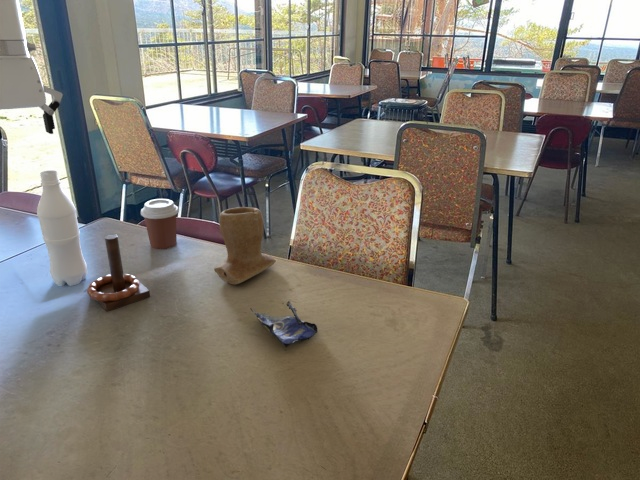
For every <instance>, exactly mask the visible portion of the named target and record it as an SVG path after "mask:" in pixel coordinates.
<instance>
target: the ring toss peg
mask: <svg viewBox="0 0 640 480" xmlns="http://www.w3.org/2000/svg"><path fill="white" fill-rule="evenodd" d="M104 242H105V248H106V255H107V260H108V266H109V272H110V274H111V278H112V282H110V283H106V284H103V285H101V286H100V287H98V288H97V290H96V291H97V292H100V293H104V294H106V293H116V292H119V291H123V290H126V289H127V288H128V287H130V286H131V283H130V282H126V281H125V280H124V274H125V273H124V268H123V262H122V255H121V250H120V243H119V237H118V235H117V234H108V235H105V236H104ZM123 273H124V274H123ZM148 298H151V292H150V290H149V289H148V288H147V287H146V286H145V285H144V284H143V283H142V282H140V285H139V289H138V291H136V292H135V293H134V294H132V295H131V296H129V297H127V298H123V299H120V300H117V301H106V302H103V301H98V300H96V301H97V302H98V303H99V304H100V306H102V308H103V309H104V310H105V311H106V312H110V311H113V310H115V309H118V308H122V307H124V306H127V305H130V304H133V303H136V302H139V301H142V300H145V299H148Z"/></svg>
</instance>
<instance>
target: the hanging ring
mask: <svg viewBox="0 0 640 480" xmlns="http://www.w3.org/2000/svg"><path fill="white" fill-rule="evenodd" d="M123 274H124V280H125V281H126V282H130V283H131V286H130V287H128V288H127V289H126V290H123V291H119V292H116V293H106V294H104V293H100V292H97V291H96V290H97V288H98V287H100V286H101V285H103V284H106V283H110V282H112V278H111V273H110V274H107V275H104V276H100V277H98V278H97V279H95V280H93V281H91V282H90V283H89V285H88V288H87V289H86V294H87V295H88V296H89V297H90V299H92V300H94V301H97V300H98V301H103V302H106V301H117V300H120V299H123V298H127V297H129V296H131V295H132V294H134V293H135V292H136V291H138V289H139V285H140V283H141V281H140V280H139V279H138V277H136V276H135V275H133V274H128V273H124V272H123ZM98 301H97V302H98Z"/></svg>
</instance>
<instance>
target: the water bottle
mask: <svg viewBox="0 0 640 480" xmlns="http://www.w3.org/2000/svg"><path fill="white" fill-rule="evenodd" d="M58 174H59V173H58V171H57V170H44V171H41V172H40V174H39V176H40V178H41V180H40V182H41V183H40V186H42V193H41V195H40V198H39V201H38V204H37V208H36V216H37V218H38V222H39V227H40V230H41V236H42V240H43V242H44V244H45V247H46V250H47V254H48V259H49V274H50V277H51V279H52V281H53V282H54V284H55V285H56V286H59V287H63V286H65V285H68V286H69V287H70V286H71V287H72V286H75V285H79V284H80V283H81V282H82V281H84V280H86V279H87V276H88V266H87V265H88V264H87V262H86V260H85V257H84V255H83V251H82V247H81V239H80V238H81V231H80V227H79V221H78V217H77V209H76V206H75V204H74V202H73V201H72V200H71V198H70V197H69V196H68V195H67V194H66V192H65V191H64V190H63V188H62V186H61V183H62V182H61V180H60V178H59V175H58Z"/></svg>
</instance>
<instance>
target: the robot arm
mask: <svg viewBox="0 0 640 480" xmlns="http://www.w3.org/2000/svg"><path fill="white" fill-rule="evenodd" d="M23 21H24V20H23V17H22V11H21V7H20V1H19V0H0V110H14V109H29V108H30V109H31V108H40V109H41V110H42V111H43V114H42V118H43V123H44V128H45V132H46V133H48V134H49V135H54V130H56V126H55V120H54V116H53V115H54V114H55V112H56V111H57V109H58V108H59V107H60V105H61V101H62V99H63V96H64V95H63V93H62V92H61V91H58V90H55V89H53V88H51V87H48V86H46V85H43V81H42V78H41V74H40V72H39V68H38V65H37V63H36V61H35V58H34V56H30V55H31V52H33V51H37V47H36V44H35V43H31V42H29V41H28V40H27V37H26V31H25V25H24V22H23ZM46 94H49V95H51V96H52V101H51V102H50V103H49V105H48V104H47V96H46ZM2 139H3V134H2V130H1V128H0V140H2Z"/></svg>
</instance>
